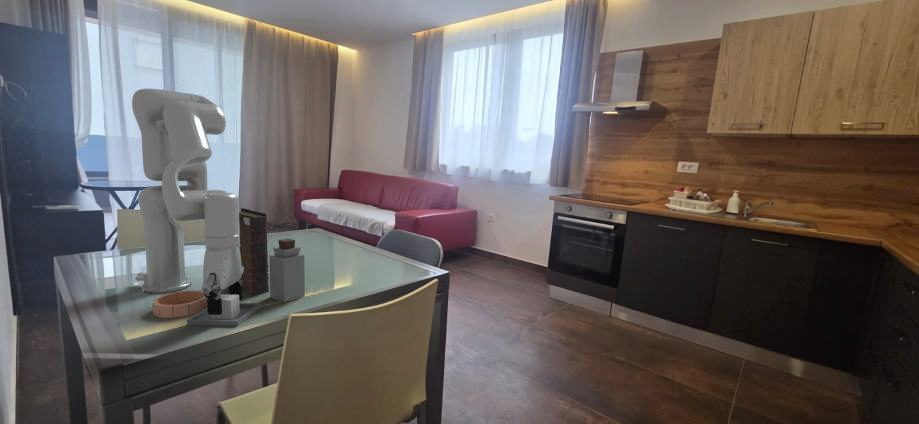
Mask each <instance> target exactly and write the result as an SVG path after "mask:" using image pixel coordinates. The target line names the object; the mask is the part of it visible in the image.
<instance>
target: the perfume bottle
mask: <svg viewBox="0 0 919 424" xmlns="http://www.w3.org/2000/svg"><path fill="white" fill-rule="evenodd" d="M295 244H296V240H295V239H292V238H284V239H278V246H276V247H275V246H274V247H272V249H273V252H274V254H270V255H269V254H268V255H269V256H268V260H269V293H270V294H269V295H270V296H269V297H270V298H271V299H274V300H276V301H278V302H282V303H288V302H291V301H293V300H296V299H300V298H303V297H305V291H306V290H305V288H306V287H305V282H306V280H305V277H306V276H305V274H306V273H305V254H302V253H300V251H301V246H296V245H295Z"/></svg>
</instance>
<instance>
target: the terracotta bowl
mask: <svg viewBox="0 0 919 424" xmlns="http://www.w3.org/2000/svg"><path fill="white" fill-rule="evenodd" d="M205 308H207V300H206V297H205V296H204V292H203V290H195V289H193V290H192V289H189V290H181V291H180V290H178V291H172V292H168V293H166V294H163V295H160V296H157V297H156V298H154V299H153V301H152V314H153V315H154V316H156V317H158V318H164V319H175V318H182V317H189V316H192V315H196V314H198V313H199V312H201V311H202V310H204V309H205Z"/></svg>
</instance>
